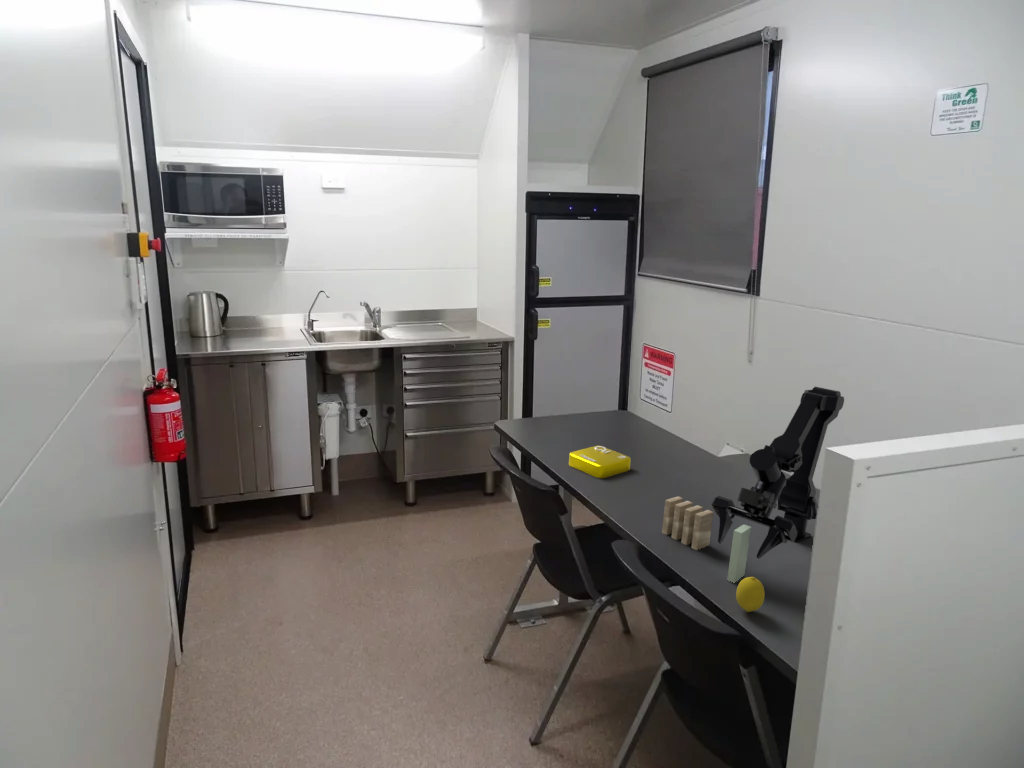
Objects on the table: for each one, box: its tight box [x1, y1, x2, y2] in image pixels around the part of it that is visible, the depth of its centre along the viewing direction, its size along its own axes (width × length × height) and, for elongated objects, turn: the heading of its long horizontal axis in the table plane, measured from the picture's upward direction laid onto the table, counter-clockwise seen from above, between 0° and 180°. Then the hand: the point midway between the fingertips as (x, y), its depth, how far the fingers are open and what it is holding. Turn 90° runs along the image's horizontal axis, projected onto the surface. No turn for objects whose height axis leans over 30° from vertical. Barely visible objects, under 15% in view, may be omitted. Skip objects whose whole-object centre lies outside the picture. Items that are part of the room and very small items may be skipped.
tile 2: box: [680, 504, 704, 546], centre depth 176 cm, size 2×5×9 cm, turn 127°
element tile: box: [568, 444, 632, 479], centre depth 225 cm, size 15×15×5 cm
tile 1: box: [691, 509, 714, 551], centre depth 174 cm, size 2×5×9 cm, turn 126°
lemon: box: [735, 576, 766, 613], centre depth 146 cm, size 6×6×8 cm
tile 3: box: [671, 500, 693, 541], centre depth 179 cm, size 2×5×9 cm, turn 126°
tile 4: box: [661, 495, 684, 536], centre depth 181 cm, size 2×5×9 cm, turn 127°
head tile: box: [726, 523, 752, 584], centre depth 159 cm, size 2×5×12 cm, turn 137°
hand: (737, 550), depth 158 cm, fingers open, 9 cm apart
